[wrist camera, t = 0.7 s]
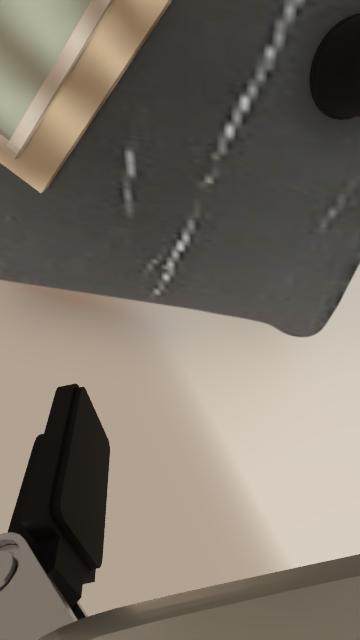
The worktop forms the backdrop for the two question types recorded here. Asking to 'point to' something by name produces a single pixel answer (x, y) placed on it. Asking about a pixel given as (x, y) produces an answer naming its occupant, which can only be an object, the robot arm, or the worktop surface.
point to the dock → (62, 74)
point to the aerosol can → (338, 71)
